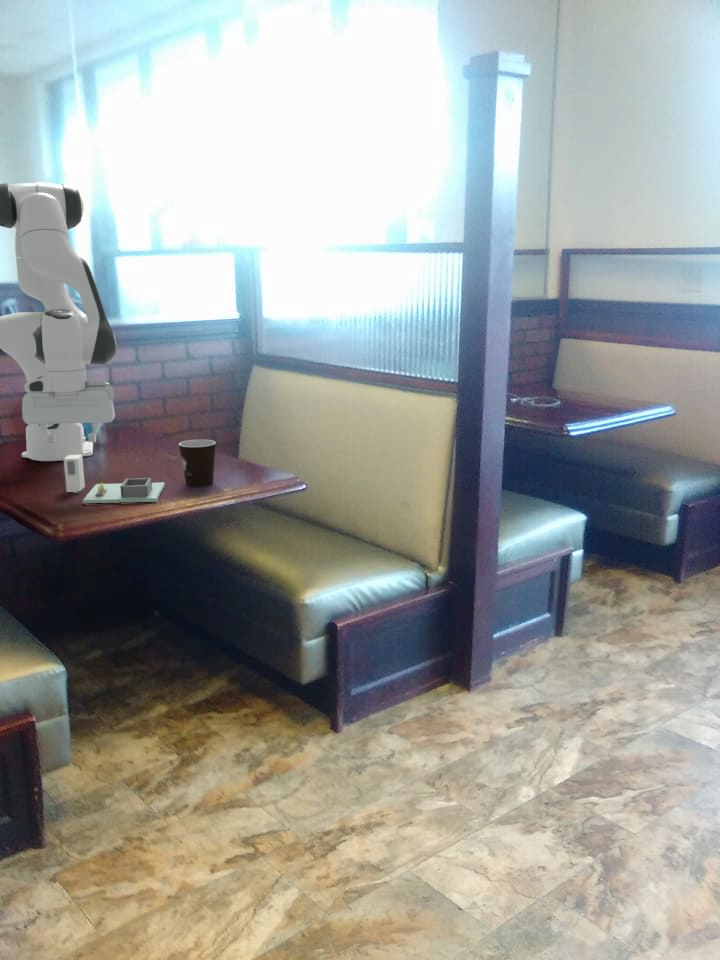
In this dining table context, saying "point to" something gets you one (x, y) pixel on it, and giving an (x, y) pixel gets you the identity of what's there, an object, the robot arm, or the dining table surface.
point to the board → (126, 491)
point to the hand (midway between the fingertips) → (71, 442)
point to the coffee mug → (198, 462)
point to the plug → (74, 473)
